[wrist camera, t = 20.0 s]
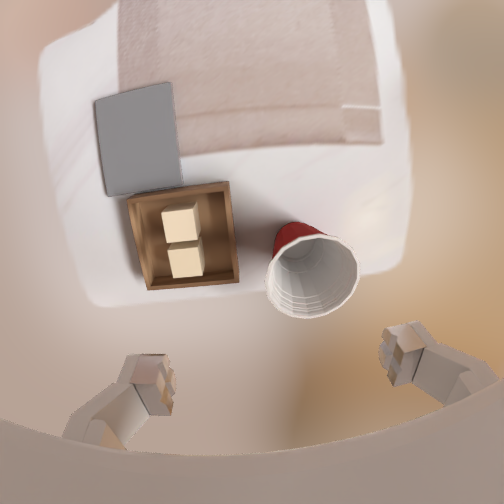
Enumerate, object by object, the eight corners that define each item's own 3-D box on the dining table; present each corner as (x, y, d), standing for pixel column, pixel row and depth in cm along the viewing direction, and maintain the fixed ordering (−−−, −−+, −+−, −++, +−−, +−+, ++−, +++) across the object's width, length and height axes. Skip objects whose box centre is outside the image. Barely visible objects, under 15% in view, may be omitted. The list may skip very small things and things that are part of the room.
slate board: (98, 101, 32) (95, 100, 32) (172, 83, 33) (170, 81, 32) (110, 195, 38) (107, 197, 37) (183, 183, 38) (182, 185, 37)
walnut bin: (135, 194, 38) (126, 199, 35) (228, 181, 38) (228, 185, 35) (153, 278, 43) (147, 290, 40) (239, 270, 43) (239, 282, 40)
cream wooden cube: (168, 205, 38) (161, 212, 35) (196, 201, 38) (192, 208, 35) (173, 232, 40) (166, 243, 36) (201, 229, 40) (197, 239, 36)
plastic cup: (256, 276, 44) (263, 324, 33) (257, 205, 40) (266, 233, 29) (326, 275, 44) (352, 320, 33) (334, 206, 40) (368, 234, 29)
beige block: (173, 239, 40) (167, 250, 37) (201, 236, 40) (197, 247, 37) (178, 265, 42) (173, 278, 38) (205, 262, 42) (202, 275, 38)
